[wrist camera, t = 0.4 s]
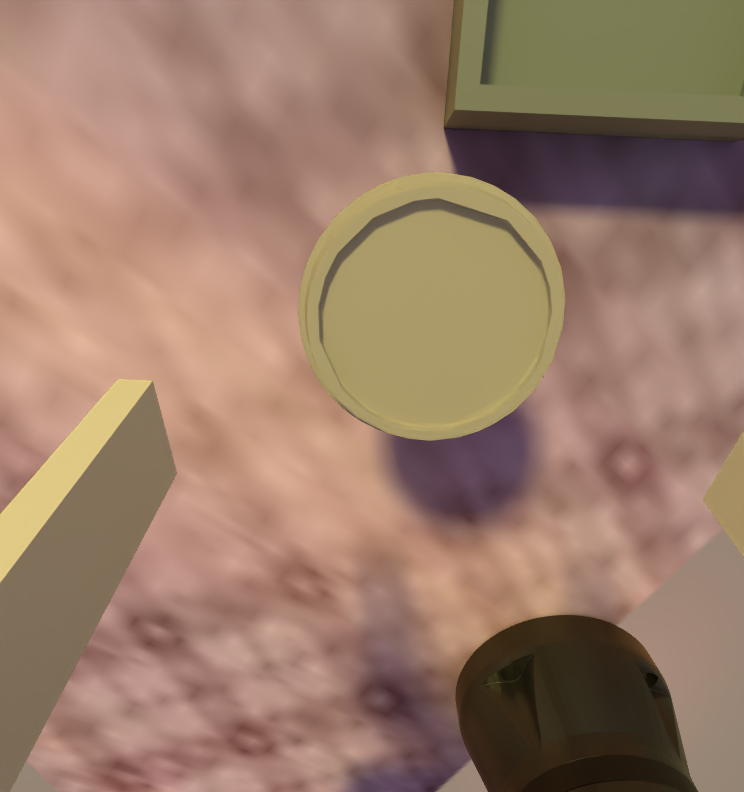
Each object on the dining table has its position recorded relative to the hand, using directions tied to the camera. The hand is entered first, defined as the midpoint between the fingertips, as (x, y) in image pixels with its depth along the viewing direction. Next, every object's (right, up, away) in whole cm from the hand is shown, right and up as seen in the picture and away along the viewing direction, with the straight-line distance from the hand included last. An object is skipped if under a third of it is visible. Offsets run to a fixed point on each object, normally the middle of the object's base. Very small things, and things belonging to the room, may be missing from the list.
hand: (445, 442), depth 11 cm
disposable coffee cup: (+1, +7, +17) cm, 18 cm away
